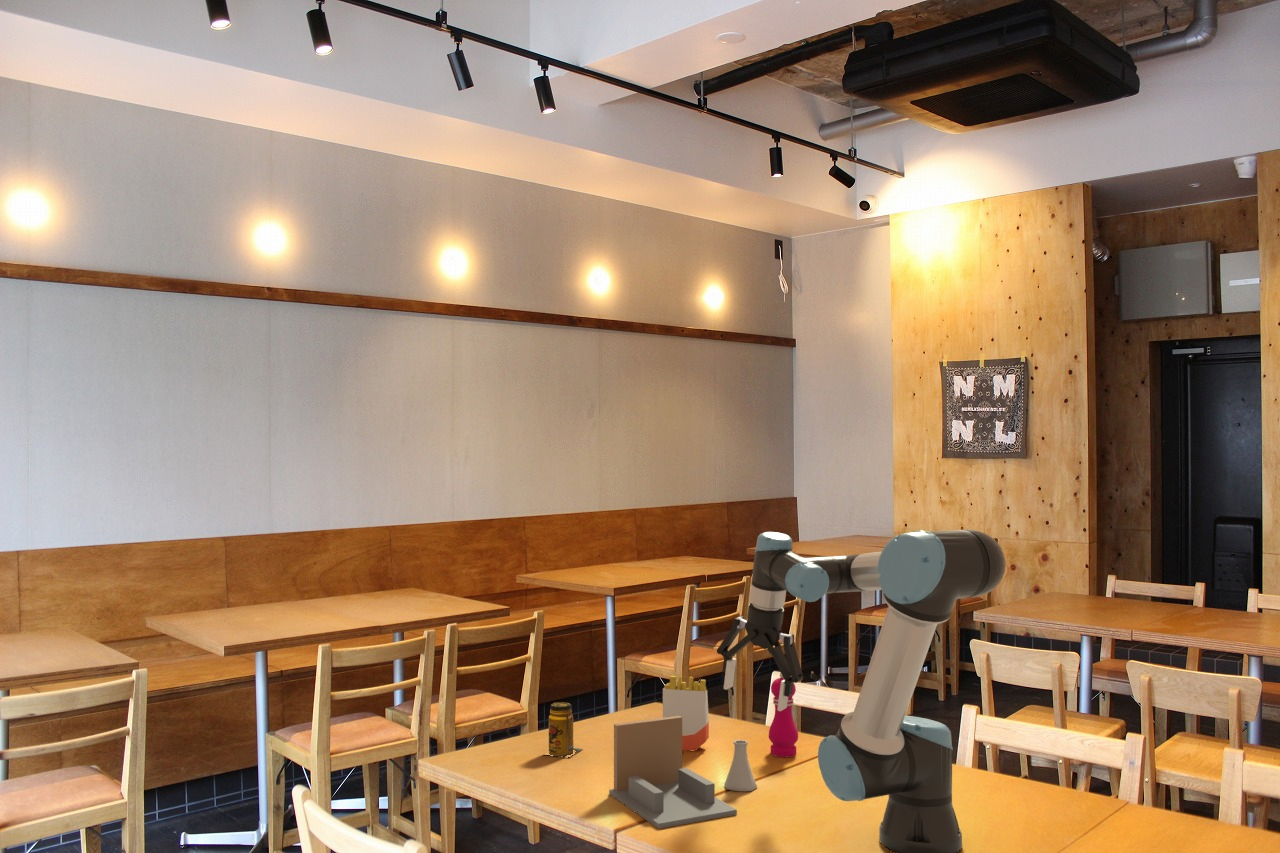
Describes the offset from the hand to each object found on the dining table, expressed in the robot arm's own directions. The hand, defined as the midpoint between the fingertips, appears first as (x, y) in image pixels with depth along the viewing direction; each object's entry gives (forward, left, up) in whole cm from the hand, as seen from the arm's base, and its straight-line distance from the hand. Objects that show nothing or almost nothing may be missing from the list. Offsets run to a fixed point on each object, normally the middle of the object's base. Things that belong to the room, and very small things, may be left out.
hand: (754, 698), depth 224 cm
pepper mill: (+23, -23, -21) cm, 39 cm away
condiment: (+48, +25, -21) cm, 58 cm away
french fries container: (+38, -4, -21) cm, 44 cm away
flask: (+6, 0, -21) cm, 22 cm away
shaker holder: (+3, +19, -21) cm, 28 cm away
